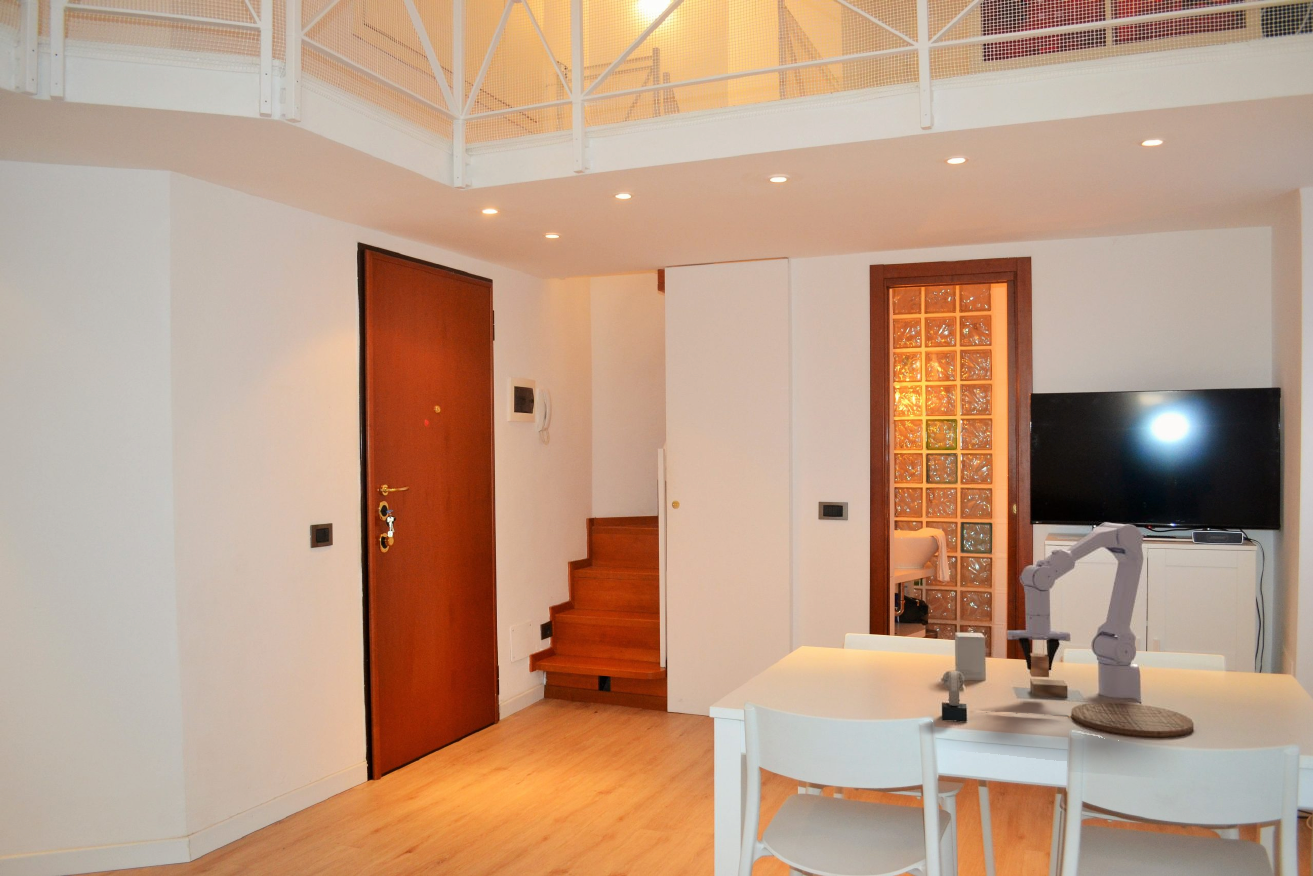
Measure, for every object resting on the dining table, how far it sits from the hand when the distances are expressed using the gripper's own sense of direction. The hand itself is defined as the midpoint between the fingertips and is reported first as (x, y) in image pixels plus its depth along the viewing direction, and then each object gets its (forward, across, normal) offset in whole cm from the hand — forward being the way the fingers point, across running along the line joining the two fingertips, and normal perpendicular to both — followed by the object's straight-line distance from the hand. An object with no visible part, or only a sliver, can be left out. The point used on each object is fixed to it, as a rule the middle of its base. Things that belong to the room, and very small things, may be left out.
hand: (1039, 669), depth 238 cm
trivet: (+9, +18, -15) cm, 25 cm away
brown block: (+7, +3, +5) cm, 10 cm away
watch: (+8, -21, -20) cm, 31 cm away
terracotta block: (+2, 0, 0) cm, 2 cm away
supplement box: (+8, -15, +22) cm, 28 cm away
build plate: (+8, +3, +5) cm, 10 cm away
